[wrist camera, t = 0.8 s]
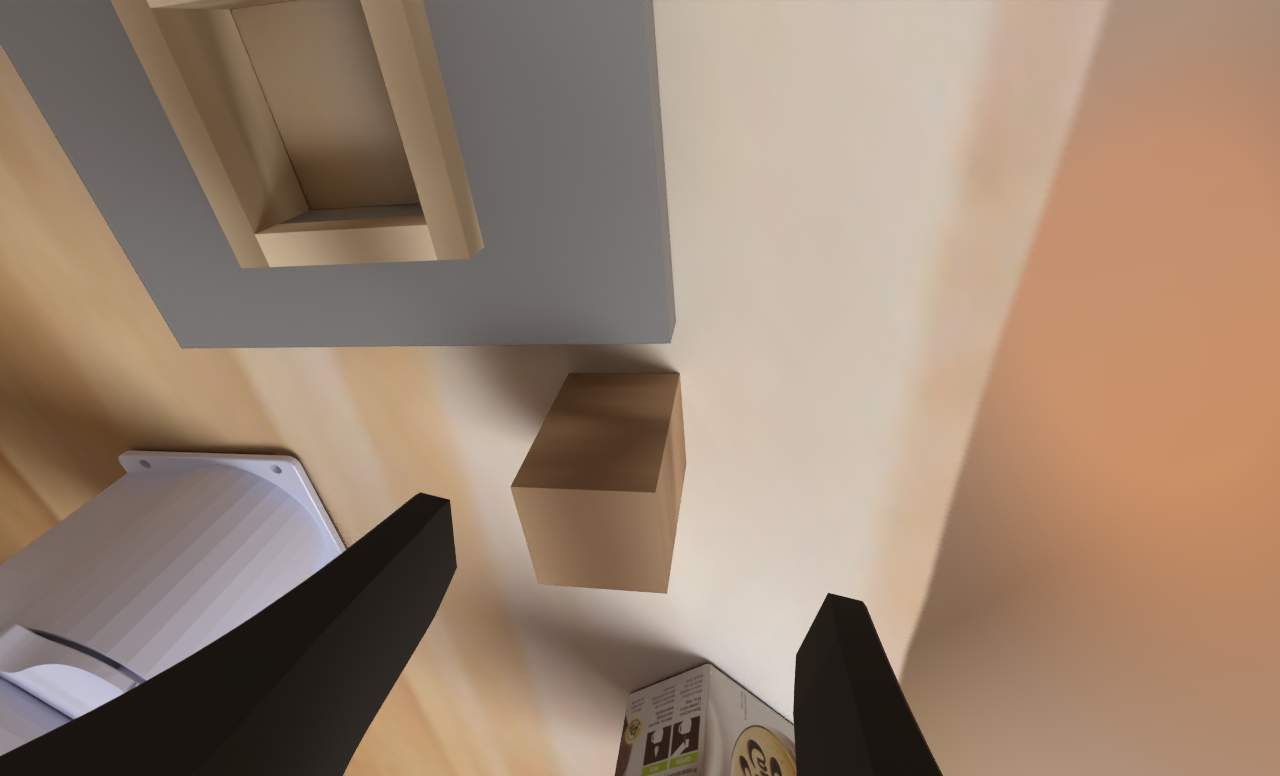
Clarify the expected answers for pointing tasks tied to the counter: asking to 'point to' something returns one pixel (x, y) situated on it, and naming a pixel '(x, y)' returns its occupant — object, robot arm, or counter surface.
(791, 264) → the counter surface
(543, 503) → the walnut block
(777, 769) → the coffee box
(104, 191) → the plate
